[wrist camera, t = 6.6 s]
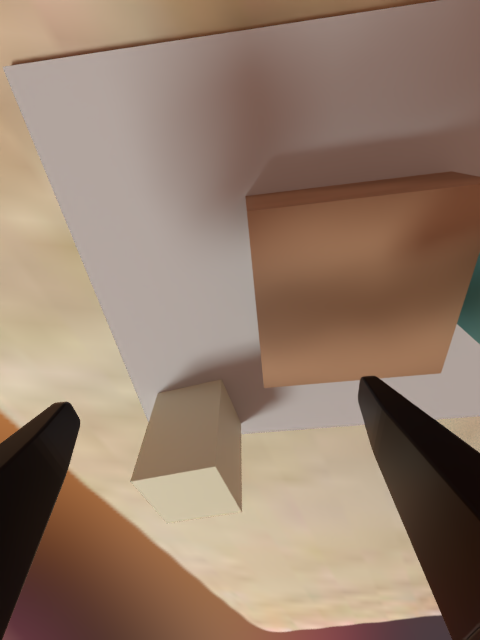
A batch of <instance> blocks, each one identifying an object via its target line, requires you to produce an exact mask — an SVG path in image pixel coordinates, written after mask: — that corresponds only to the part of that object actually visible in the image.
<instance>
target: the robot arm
mask: <svg viewBox="0 0 480 640" xmlns="http://www.w3.org/2000/svg"><path fill="white" fill-rule="evenodd" d="M358 403H359V407H360V410H361V413H362V417H363V420H364V423H365V427H366V430H367V434H368V437H369V440H370V444H371V447H372V450H373V453H374V455H375V458H376V460H377V463H378V465H379V468H380V470H381V472H382V475H383V477H384V479H385V482H386V484H387V486H388V489H389V491H390V494H391V496H392V498H393V501H394V503H395V505H396V508H397V510H398V512H399V515H400V517H401V520H402V522H403V524H404V527H405V529H406V531H407V534H408V536H409V538H410V541H411V543H412V545H413V548H414V550H415V553H416V555H417V557H418V560H419V562H420V564H421V567H422V569H423V571H424V574H425V576H426V579H427V581H428V583H429V586H430V588H431V590H432V593H433V595H434V597H435V600H436V602H437V605H438V607H439V609H440V612H441V614H442V616H443V619H444V621H445V623H446V626H447V628H448V631H449V633H450V635H451V638H452V640H480V453H479V452H478V451H476V450H475V449H474V448H472V447H471V446H470V445H468V444H467V443H466V442H464V441H463V440H462V439H460V438H459V437H458V436H456V435H455V434H453V433H452V432H451V431H449V430H448V429H447V428H445V427H444V426H443V425H441V424H440V423H439V422H437V421H436V420H435V419H433V418H432V417H431V416H429V415H428V414H427V413H425V412H424V411H423V410H421V409H420V408H419V407H417V406H416V405H414V404H413V403H412V402H410V401H409V400H408V399H406V398H405V397H404V396H402V395H401V394H400V393H398V392H397V391H396V390H394V389H393V388H392V387H390V386H389V385H388V384H386V383H385V382H384V381H382V380H381V379H379V378H378V377H377V376H363V377H361V379H360V383H359V390H358ZM79 428H80V419H79V417H78V415H77V413H76V412H75V410H74V408H73V407H72V405H71V404H70V403H69V402H58V403H54V404H52V405H51V406H50V407H48V408H47V409H46V410H44V411H43V412H42V413H40V414H39V415H38V416H36V417H35V418H34V419H32V420H31V421H30V422H28V423H27V424H26V425H24V426H23V427H22V428H20V429H19V430H18V431H17V432H15V433H14V434H13V435H11V436H10V437H9V438H7V439H6V440H5V441H3V442H2V443H1V444H0V640H2V638H3V636H4V633H5V631H6V628H7V626H8V623H9V621H10V618H11V615H12V613H13V610H14V608H15V605H16V602H17V600H18V597H19V595H20V592H21V589H22V587H23V585H24V582H25V579H26V577H27V574H28V572H29V569H30V566H31V564H32V561H33V559H34V556H35V554H36V551H37V549H38V546H39V543H40V541H41V538H42V536H43V533H44V530H45V528H46V525H47V523H48V520H49V518H50V515H51V513H52V510H53V507H54V505H55V502H56V500H57V497H58V494H59V492H60V489H61V487H62V484H63V482H64V479H65V476H66V473H67V470H68V467H69V464H70V460H71V456H72V453H73V449H74V446H75V442H76V439H77V435H78V431H79Z"/></svg>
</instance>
